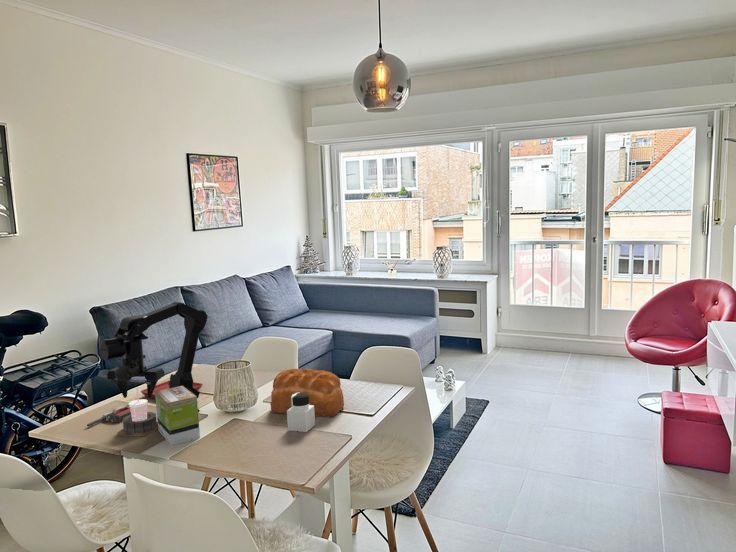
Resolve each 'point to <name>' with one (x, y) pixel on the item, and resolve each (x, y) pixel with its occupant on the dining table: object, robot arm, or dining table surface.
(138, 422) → the cup holder
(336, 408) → the bread
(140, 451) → the dining table surface
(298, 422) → the medicine bottle
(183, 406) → the tea box
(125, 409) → the walkie-talkie
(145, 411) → the beverage cup
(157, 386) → the plant saucer
